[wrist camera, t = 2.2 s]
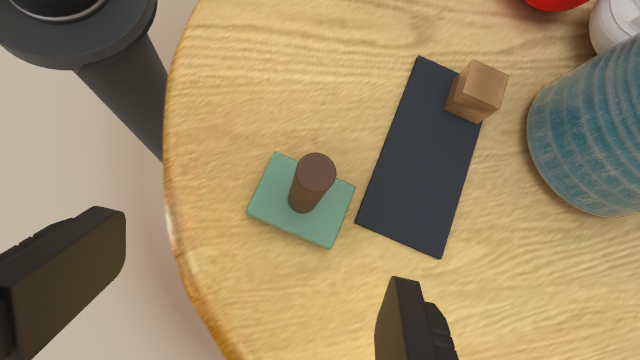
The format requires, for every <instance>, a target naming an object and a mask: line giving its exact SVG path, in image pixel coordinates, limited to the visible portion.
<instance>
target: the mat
mask: <svg viewBox="0 0 640 360" xmlns="http://www.w3.org/2000/svg"><path fill="white" fill-rule="evenodd" d="M458 74H459V73H457V72H454V71H452V70H450V69H448V68H446V67H443V66H441V65H439V64H437V63H435V62H432V61H430V60H428V59H426V58H424V57H421V56H418V57H417V59H416V61H415V64H414V66H413V69H412V72H411V74H410V77H409V80H408V82H407V85H406V88H405V90H404V93H403V95H402V98H401V101H400V103H399V106H398V109H397V111H396V114H395V117H394V119H393V122H392V124H391V127H390V130H389V132H388V135H387V138H386V140H385V143H384V146H383V148H382V151H381V153H380V156H379V159H378V161H377V164H376V167H375V169H374V172H373V175H372V177H371V180H370V182H369V185H368V188H367V190H366V193H365V196H364V198H363V201H362V204H361V206H360V209H359V211H358V214H357V217H356V219H355V222H354V223H356V224H358V225H360V226H363V227H365V228H367V229H370V230H372V231H374V232H377V233H379V234H381V235H383V236H386V237H388V238H390V239H393V240H395V241H397V242H400V243H402V244H404V245H407V246H409V247H411V248H414V249H416V250H418V251H420V252H423V253H425V254H427V255H430V256H432V257H434V258H437V259H441V258H442V255H443V252H444V248H445V245H446V242H447V238H448V235H449V232H450V228H451V225H452V222H453V218H454V215H455V212H456V208H457V205H458V201H459V198H460V195H461V191H462V188H463V185H464V181H465V178H466V175H467V171H468V168H469V165H470V161H471V158H472V155H473V151H474V148H475V144H476V141H477V138H478V134H479V131H480V128H481V124H482V121H483V120H482V121H481V122H480V123H478V124H475V123H473V122H470V121H468V120H466V119H464V118H461V117H459V116H457V115H455V114H453V113H450V112H448V111H446V110H444V106H445V103H446V100H447V97H448V94H449V91H450V88H451V85H452V82H453V79H454V78H455V77H456V76H457V75H458Z"/></svg>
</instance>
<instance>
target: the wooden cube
mask: <svg viewBox="0 0 640 360" xmlns="http://www.w3.org/2000/svg"><path fill="white" fill-rule="evenodd" d="M508 78H509V75H507V74H505V73H502V72H500V71H498V70H496V69H494V68H492V67H489V66H487V65H485V64H483V63H481V62H478V61H476V60H474V59H473V60H472V61H471V62H470V63H469V64H468V65H467V66H466V67H465V68H464V69H463V70H462V71H461V72H460V73H459V74H458V75H457V76H456V77H455V78H454V79H453V82H452V85H451V88H450V91H449V94H448V97H447V100H446V103H445V106H444V110H446V111H448V112H450V113H453V114H455V115H457V116H459V117H461V118H464V119H466V120H468V121H470V122H473V123H475V124H478V123H480V122H481V121H482V120H484V119H485V118H487V117H488V116H490V115H491V114H493V113H494V112H495V111H497V110H498V109H500V106H501V102H502V99H503V95H504V92H505V88H506V85H507V81H508Z"/></svg>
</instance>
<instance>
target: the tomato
mask: <svg viewBox="0 0 640 360" xmlns="http://www.w3.org/2000/svg"><path fill="white" fill-rule="evenodd" d="M524 1H525V2H527V3H528V4H529V5H531V6H533V7H535V8H537V9H540V10H544V11H550V12H553V11H565V10H569V9H573V8H575V7H577V6H579V5H581V4H584V3H586V2H588V1H589V0H524Z"/></svg>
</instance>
